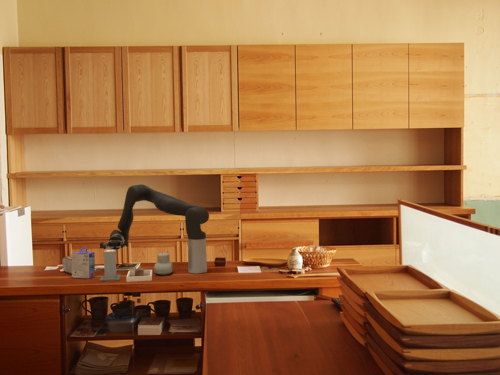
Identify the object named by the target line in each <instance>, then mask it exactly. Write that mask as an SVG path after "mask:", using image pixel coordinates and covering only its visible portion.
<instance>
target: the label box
mask: <svg viewBox="0 0 500 375" xmlns="http://www.w3.org/2000/svg"><path fill="white" fill-rule="evenodd" d="M116 253H117V250H113V249H104V251H103V264H104V266H103V267H104V276H105V279H110V278H116V275H117V254H116Z"/></svg>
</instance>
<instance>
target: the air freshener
mask: <svg viewBox="0 0 500 375" xmlns="http://www.w3.org/2000/svg"><path fill="white" fill-rule="evenodd" d="M173 268H174V264H173V262H172V261H170V254H169V253H168V252H160V253H157V262H156V263H154V267H153V269H154V270H153V272H154V273H155V274H157V275H159V276H160V275H161V276H162V275H163V276H164V275H165V276H167V275H171V273H173V271H174V269H173Z"/></svg>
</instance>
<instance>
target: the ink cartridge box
mask: <svg viewBox="0 0 500 375" xmlns="http://www.w3.org/2000/svg"><path fill="white" fill-rule="evenodd" d="M88 249H89V248H88V247H82V246H81V248H80V251H77V252H76V251H75V252H72V253H71V257H72V274H71V277H72V278H73V279H74V278H75V279H91V278H94V277H96V264H95V259H96V258H95V254H96V253H95V252H94V251H88Z"/></svg>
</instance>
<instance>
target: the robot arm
mask: <svg viewBox="0 0 500 375" xmlns="http://www.w3.org/2000/svg"><path fill="white" fill-rule="evenodd" d="M143 201H144V202H145V201H146V202H150V203H151V204H153V205H154V206H155V208H156V209H157V210H159V211H161V212H163V213H166V214H168V215H174V216H181V217H185V218H184V219H185V222H184V223H185V232H186V235H187V255H188V256H187V257H188V258H187V262H188V263H187V265H188V266H187V267H188V268H187V269H188V273H189V274H204V273H208V266H207V265H208V262H207V261H208V259H207V258H208V257H207V256H208V255H207V234H206V232H205V231H203V230H202V227H201V225H203V224H205V223H207V222H208V220H209V218H210V214H209V211H208V210H207V209H206V208H205V207H204V206H200V205H195V204H192V203H189V202H186V201H184V200H182V199H179V198H176V197H174V196H171V195H169V194H166V193H163V192H160V191H157V190H155V189H154V188H151V187H149V186H147V185H146V184H142V183H141V184H134V185H133V184H132V185H131V186H129V187H128V188H127V190H126V193H125V199H124V202H123V203H124V204H123V208H122V213H121V216H120V218H119V221H118V224H117V229H113V230H112V231H111V232H110V235H109V239H108V241H106V242H104V241H101V242H100V243H99V249H104V250H107V249H110V250H116V251H117V250H120V249H123V248H125V247H126V248H127V247H129V238H130V231H131V230H130V229H131V226H132V224H133V222H134V212H133V208H134V206H135V204H136V203H138V202H143Z"/></svg>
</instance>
